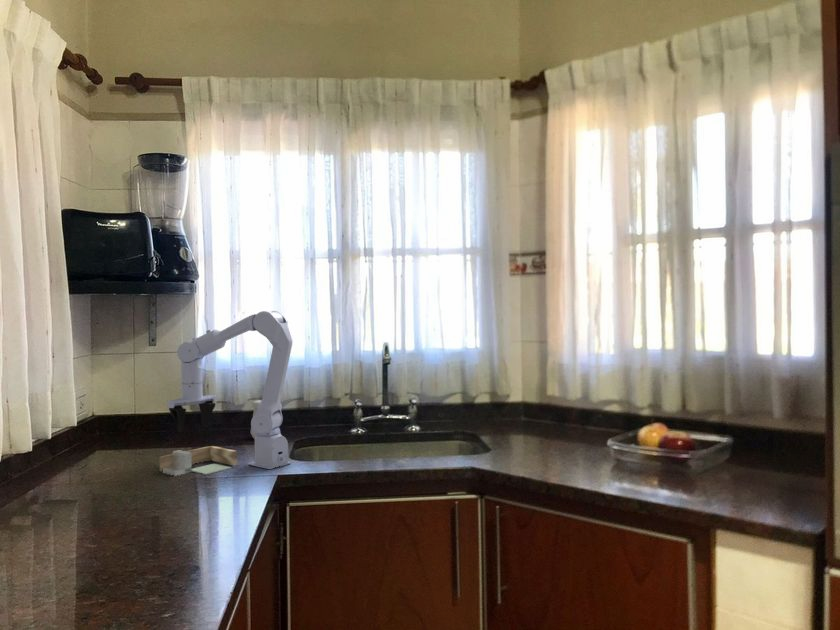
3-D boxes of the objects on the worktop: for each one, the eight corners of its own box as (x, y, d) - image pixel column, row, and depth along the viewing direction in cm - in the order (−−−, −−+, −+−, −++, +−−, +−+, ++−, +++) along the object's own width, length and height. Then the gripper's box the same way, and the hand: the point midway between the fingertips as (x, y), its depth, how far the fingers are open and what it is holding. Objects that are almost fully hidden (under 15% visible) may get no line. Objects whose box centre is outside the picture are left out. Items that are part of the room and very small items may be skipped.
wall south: (237, 464, 180) (237, 450, 180) (233, 465, 179) (233, 451, 179) (212, 459, 187) (212, 445, 187) (209, 459, 186) (208, 446, 186)
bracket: (191, 472, 173) (191, 452, 173) (175, 476, 169) (174, 456, 169) (179, 469, 176) (179, 449, 176) (163, 473, 173) (162, 453, 172)
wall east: (212, 459, 186) (211, 446, 186) (162, 471, 174) (161, 457, 174) (209, 459, 187) (209, 445, 187) (159, 471, 174) (159, 456, 174)
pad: (231, 468, 176) (230, 467, 176) (205, 474, 170) (205, 473, 170) (214, 464, 181) (214, 463, 181) (189, 470, 174) (189, 469, 174)
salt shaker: (265, 439, 214) (264, 401, 214) (248, 439, 214) (247, 402, 214) (269, 436, 220) (269, 399, 220) (253, 436, 220) (252, 399, 220)
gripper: (206, 379, 190) (207, 424, 191) (161, 384, 179) (162, 432, 179) (219, 380, 186) (220, 426, 186) (174, 386, 175) (175, 434, 175)
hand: (193, 429), depth 182 cm, fingers open, 7 cm apart
